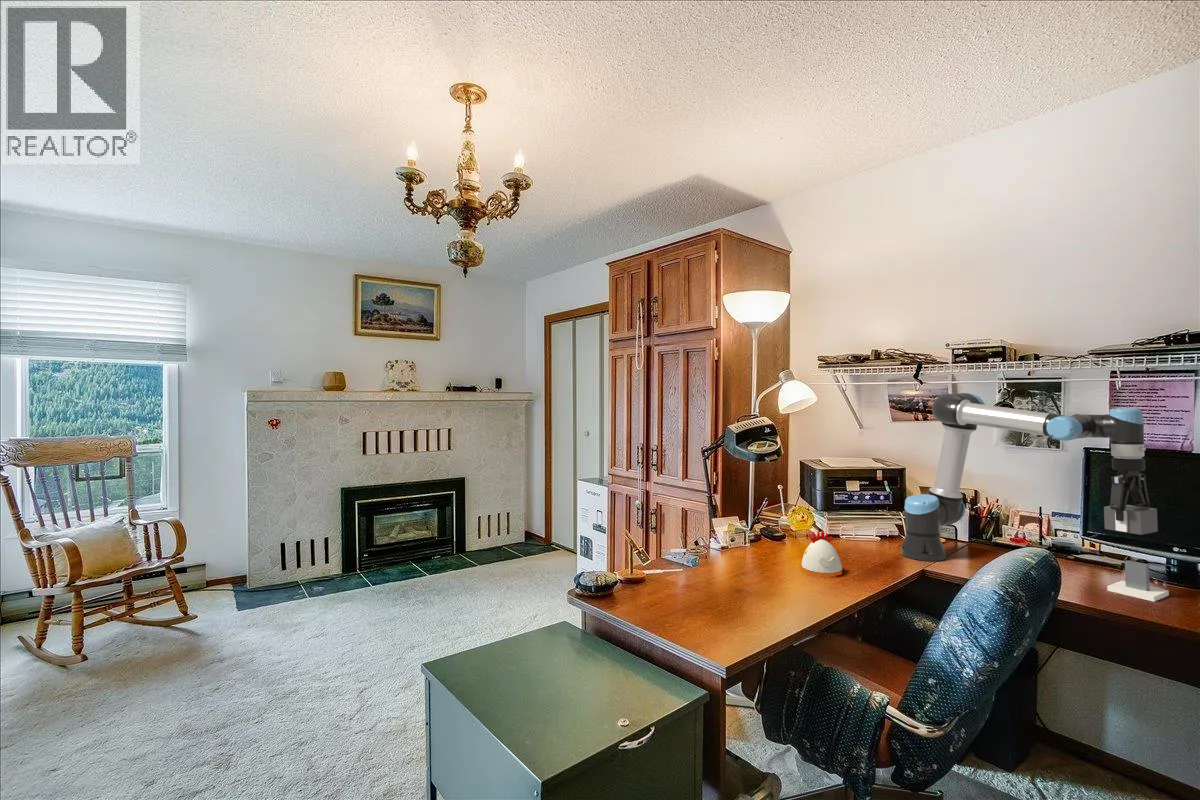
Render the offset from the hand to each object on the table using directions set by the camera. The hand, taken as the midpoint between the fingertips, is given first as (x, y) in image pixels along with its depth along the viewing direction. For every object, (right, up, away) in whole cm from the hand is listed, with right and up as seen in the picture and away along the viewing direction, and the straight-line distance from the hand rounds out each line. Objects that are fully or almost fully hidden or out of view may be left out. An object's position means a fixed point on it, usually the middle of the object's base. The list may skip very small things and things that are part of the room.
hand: (1130, 529), depth 170 cm
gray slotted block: (0, 0, 0) cm, 0 cm away
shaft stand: (+2, -20, 0) cm, 20 cm away
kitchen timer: (-85, -23, +30) cm, 93 cm away
